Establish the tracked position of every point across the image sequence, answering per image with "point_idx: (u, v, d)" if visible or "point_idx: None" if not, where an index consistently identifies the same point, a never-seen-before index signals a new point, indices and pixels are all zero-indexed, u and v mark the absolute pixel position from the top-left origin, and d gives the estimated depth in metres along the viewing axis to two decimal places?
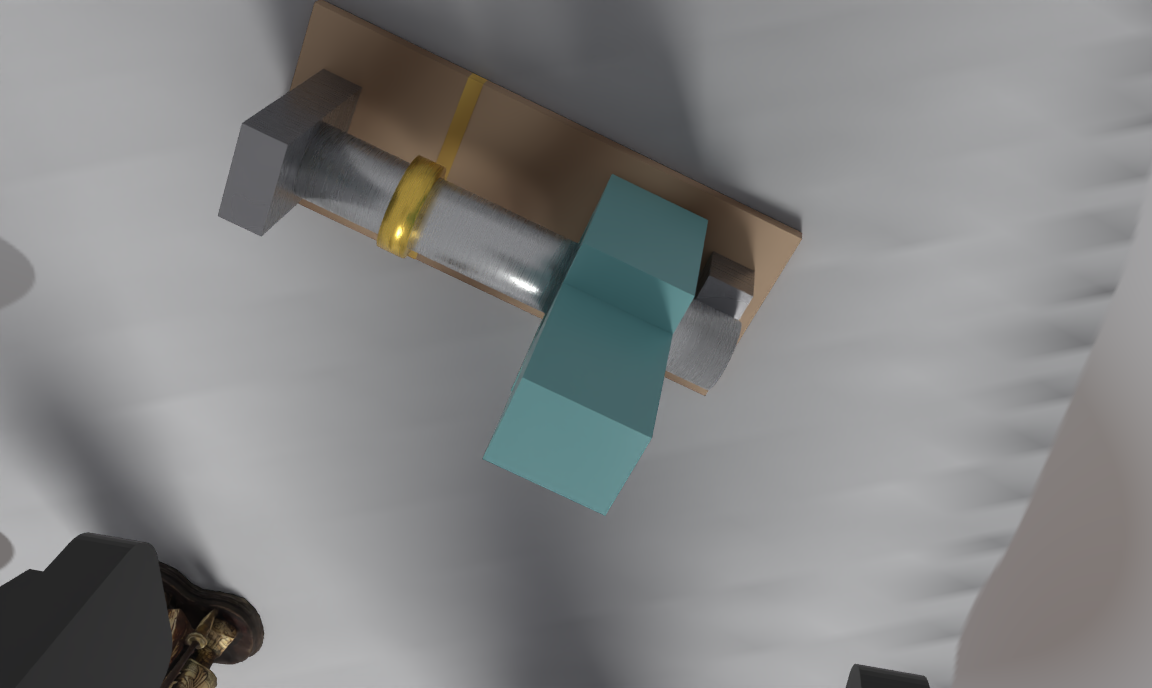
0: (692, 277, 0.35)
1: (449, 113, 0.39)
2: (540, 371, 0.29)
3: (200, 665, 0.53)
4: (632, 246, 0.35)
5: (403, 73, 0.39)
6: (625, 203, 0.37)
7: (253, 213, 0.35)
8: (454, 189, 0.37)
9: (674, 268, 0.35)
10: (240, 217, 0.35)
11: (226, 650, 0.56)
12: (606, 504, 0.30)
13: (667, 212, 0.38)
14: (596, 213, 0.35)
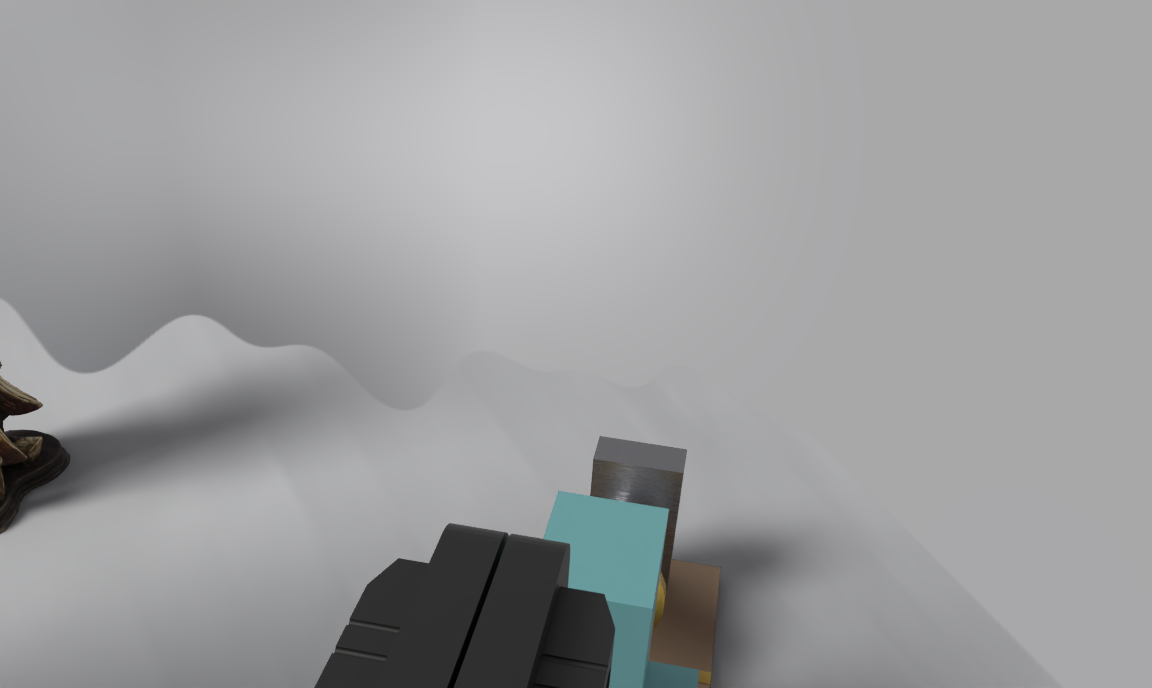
0: None
1: (670, 662, 0.41)
2: None
3: None
4: None
5: (691, 626, 0.43)
6: None
7: (612, 454, 0.42)
8: None
9: None
10: (605, 448, 0.42)
11: None
12: None
13: None
14: None
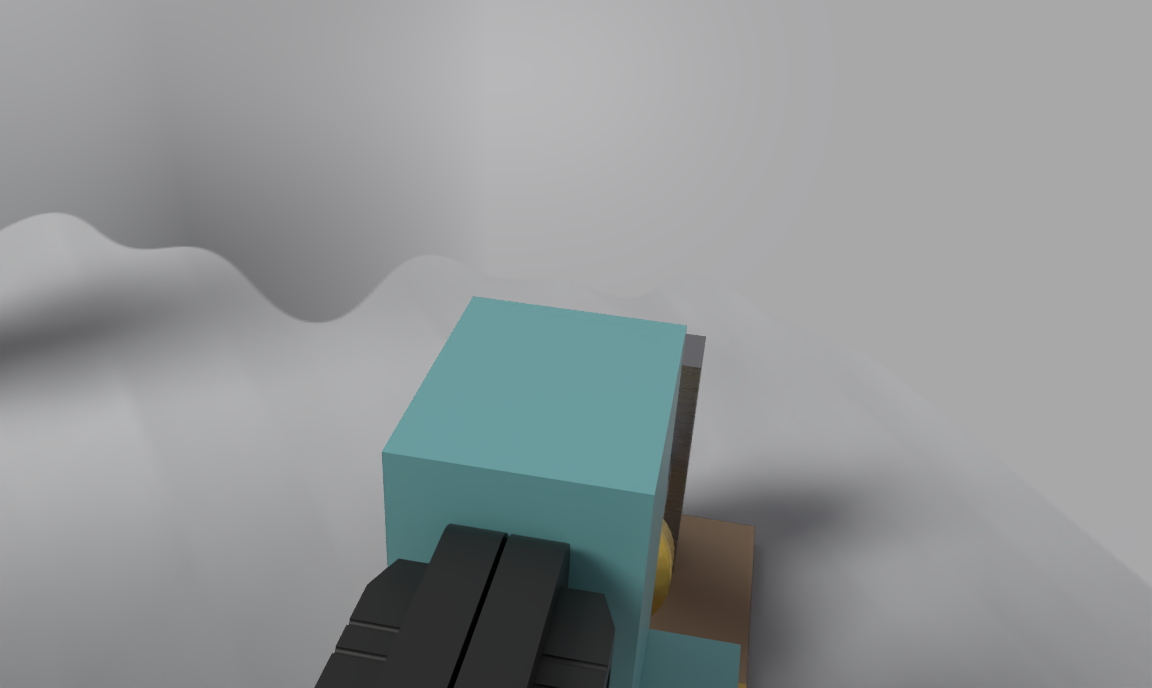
0: None
1: None
2: (679, 379, 0.15)
3: None
4: None
5: (713, 613, 0.28)
6: None
7: None
8: None
9: None
10: None
11: None
12: (420, 448, 0.12)
13: None
14: None
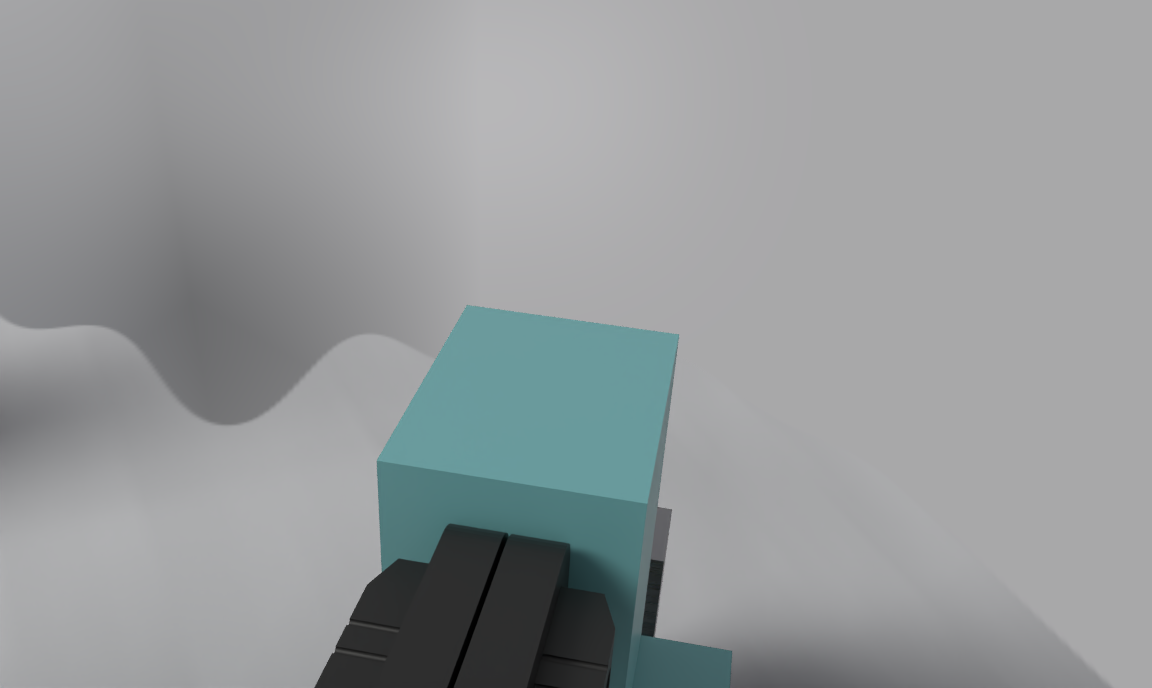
0: None
1: None
2: (671, 387, 0.15)
3: None
4: None
5: None
6: None
7: None
8: None
9: None
10: None
11: None
12: (415, 457, 0.12)
13: None
14: None
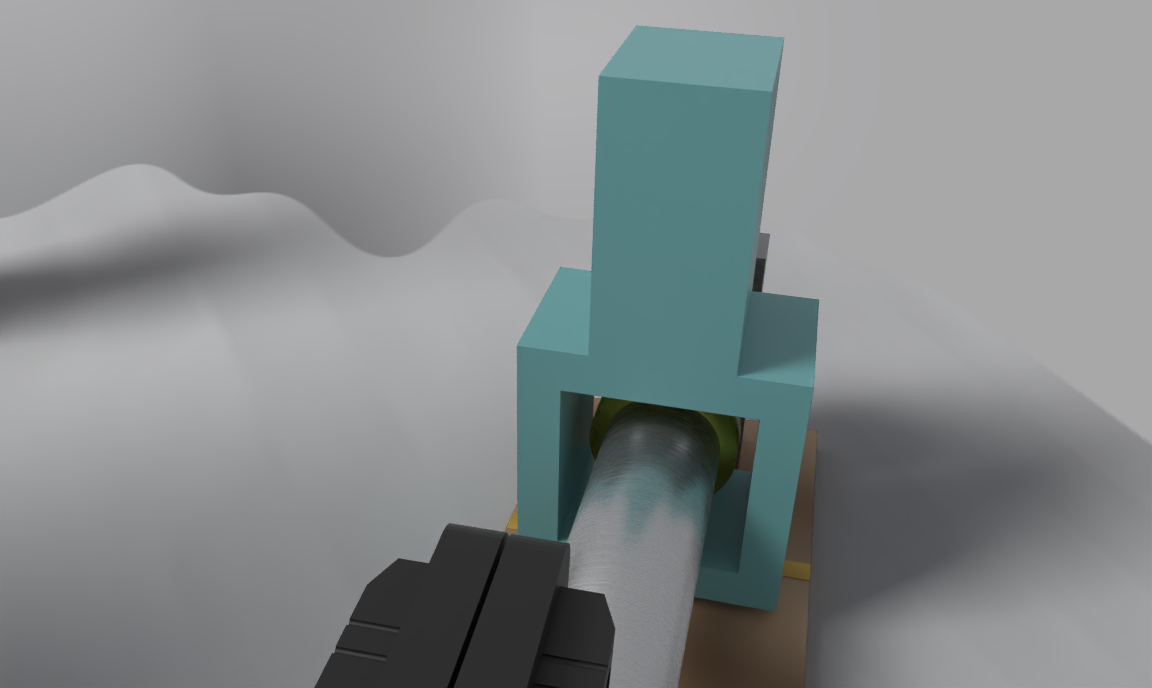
0: None
1: None
2: (779, 74, 0.22)
3: None
4: None
5: None
6: None
7: None
8: (717, 471, 0.24)
9: None
10: None
11: None
12: (622, 74, 0.19)
13: None
14: None
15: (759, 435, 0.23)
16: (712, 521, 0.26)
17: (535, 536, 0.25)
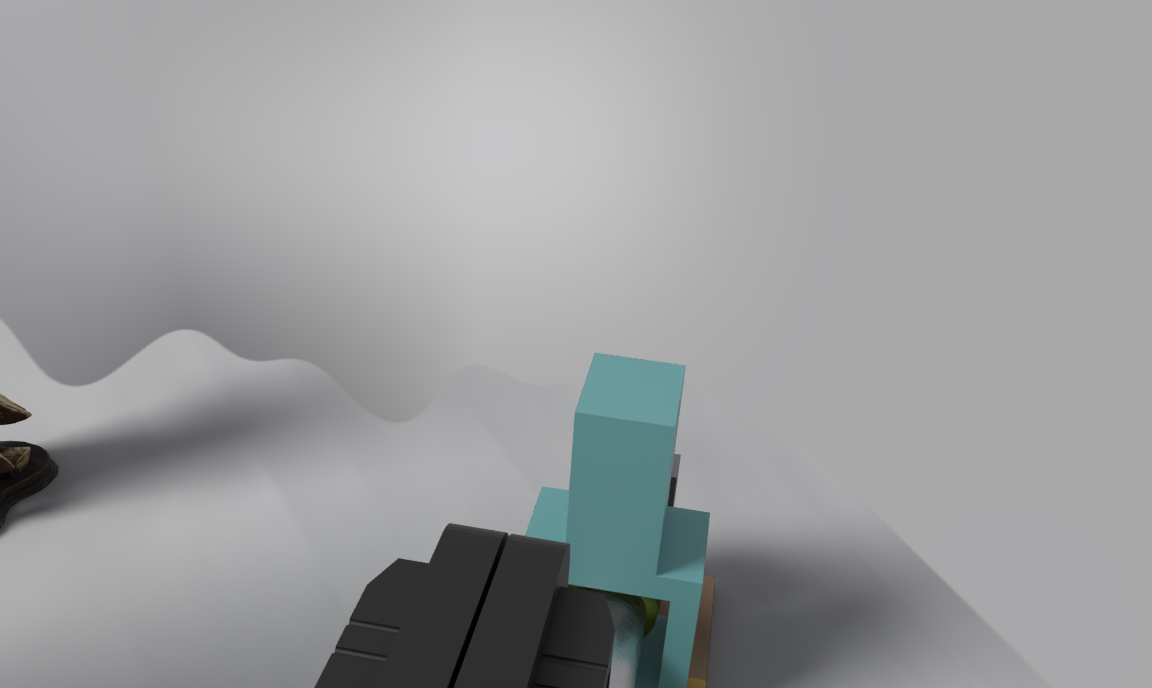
0: (698, 606, 0.36)
1: None
2: (682, 387, 0.36)
3: None
4: None
5: None
6: None
7: None
8: (644, 626, 0.38)
9: None
10: None
11: None
12: (588, 411, 0.33)
13: None
14: None
15: (670, 610, 0.36)
16: (641, 654, 0.40)
17: None
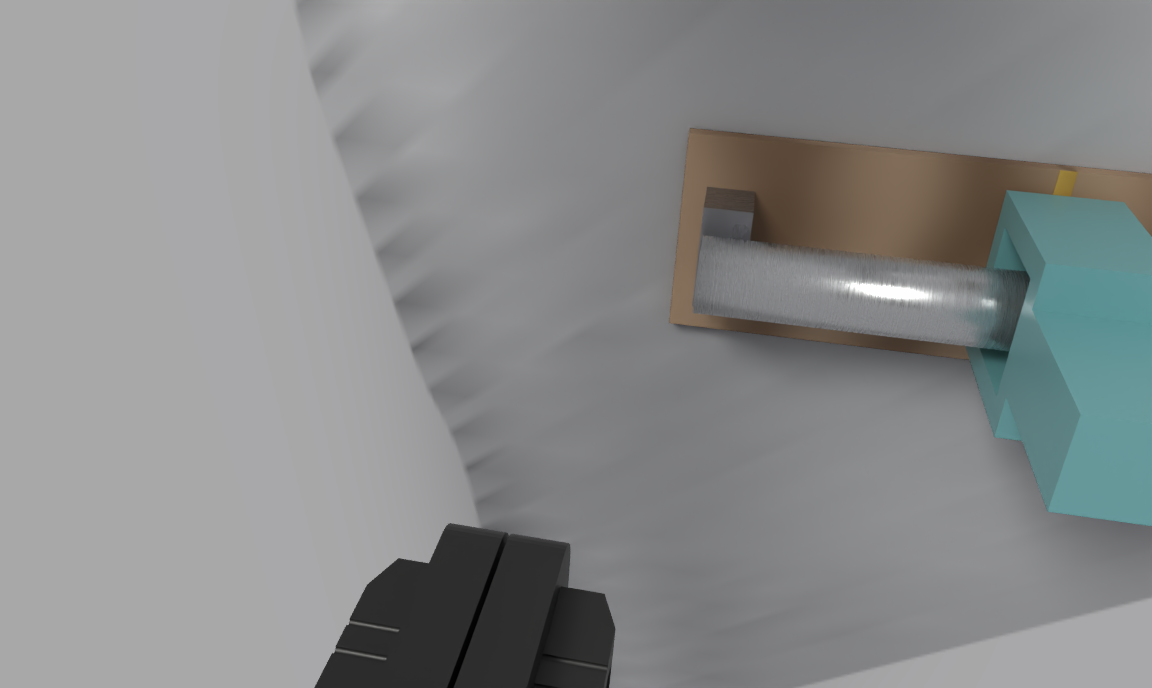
0: None
1: None
2: None
3: None
4: None
5: None
6: None
7: None
8: None
9: None
10: None
11: None
12: (1082, 429, 0.27)
13: None
14: None
15: (993, 391, 0.36)
16: None
17: (1008, 212, 0.36)
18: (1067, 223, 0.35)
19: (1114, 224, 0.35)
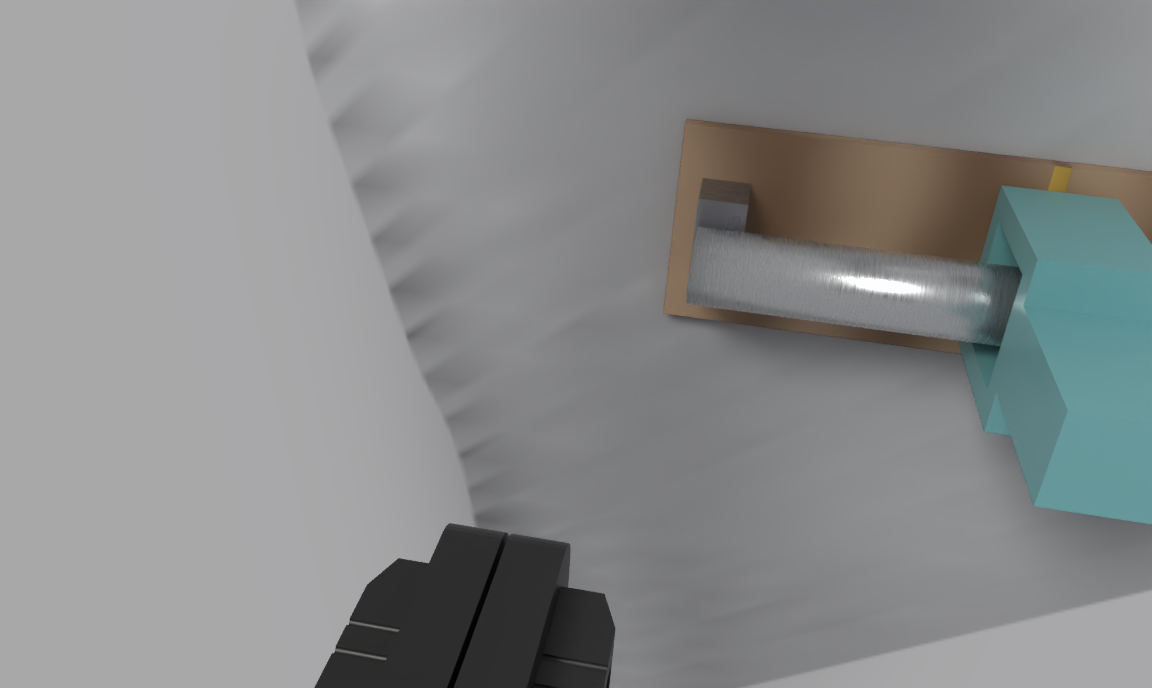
0: None
1: None
2: None
3: None
4: None
5: None
6: None
7: None
8: None
9: None
10: None
11: None
12: (1069, 425, 0.28)
13: None
14: None
15: (984, 385, 0.36)
16: None
17: (1002, 208, 0.37)
18: (1060, 219, 0.35)
19: (1107, 221, 0.35)
